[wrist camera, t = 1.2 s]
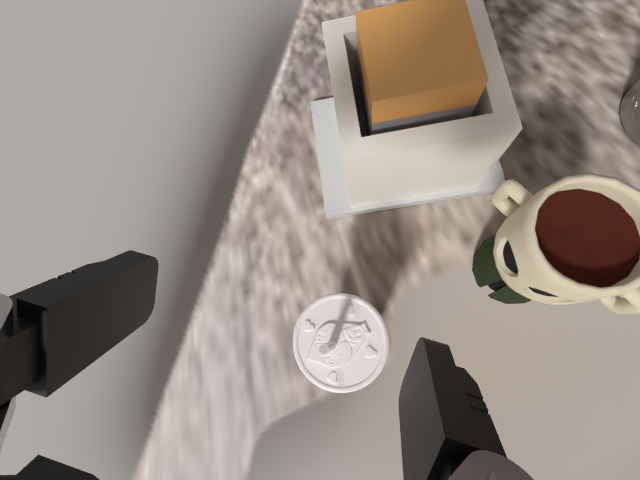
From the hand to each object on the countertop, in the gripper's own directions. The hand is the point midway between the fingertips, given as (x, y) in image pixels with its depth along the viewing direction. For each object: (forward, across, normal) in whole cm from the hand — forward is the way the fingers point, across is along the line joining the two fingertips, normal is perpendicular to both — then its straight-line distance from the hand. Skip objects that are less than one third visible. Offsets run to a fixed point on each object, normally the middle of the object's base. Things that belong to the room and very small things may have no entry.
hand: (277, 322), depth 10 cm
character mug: (+23, -16, +2) cm, 28 cm away
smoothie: (+20, -3, +12) cm, 23 cm away
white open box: (+29, -4, -6) cm, 30 cm away
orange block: (+24, -3, -9) cm, 26 cm away
